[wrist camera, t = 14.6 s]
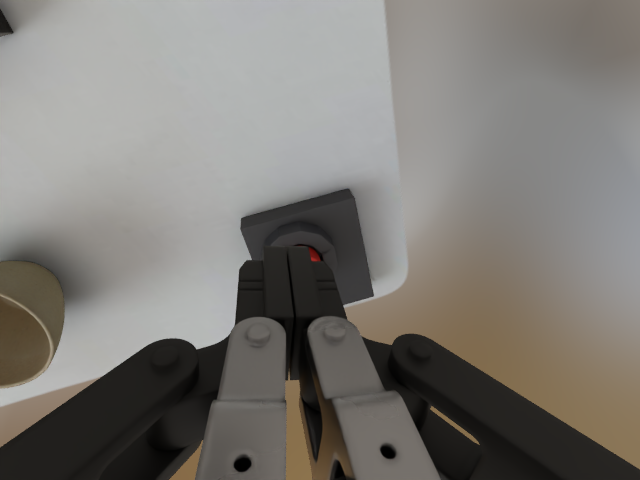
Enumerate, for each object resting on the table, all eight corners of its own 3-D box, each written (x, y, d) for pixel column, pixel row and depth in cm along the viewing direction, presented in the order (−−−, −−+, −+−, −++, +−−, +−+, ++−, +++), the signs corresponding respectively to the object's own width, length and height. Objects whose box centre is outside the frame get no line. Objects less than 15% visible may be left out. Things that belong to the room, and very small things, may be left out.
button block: (241, 217, 33) (239, 238, 29) (348, 188, 33) (359, 205, 30) (276, 309, 38) (277, 336, 35) (368, 283, 38) (379, 307, 35)
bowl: (49, 220, 30) (-5, 266, 24) (111, 310, 35) (80, 368, 29) (-69, 254, 30) (-154, 309, 24) (10, 339, 35) (-43, 403, 29)
